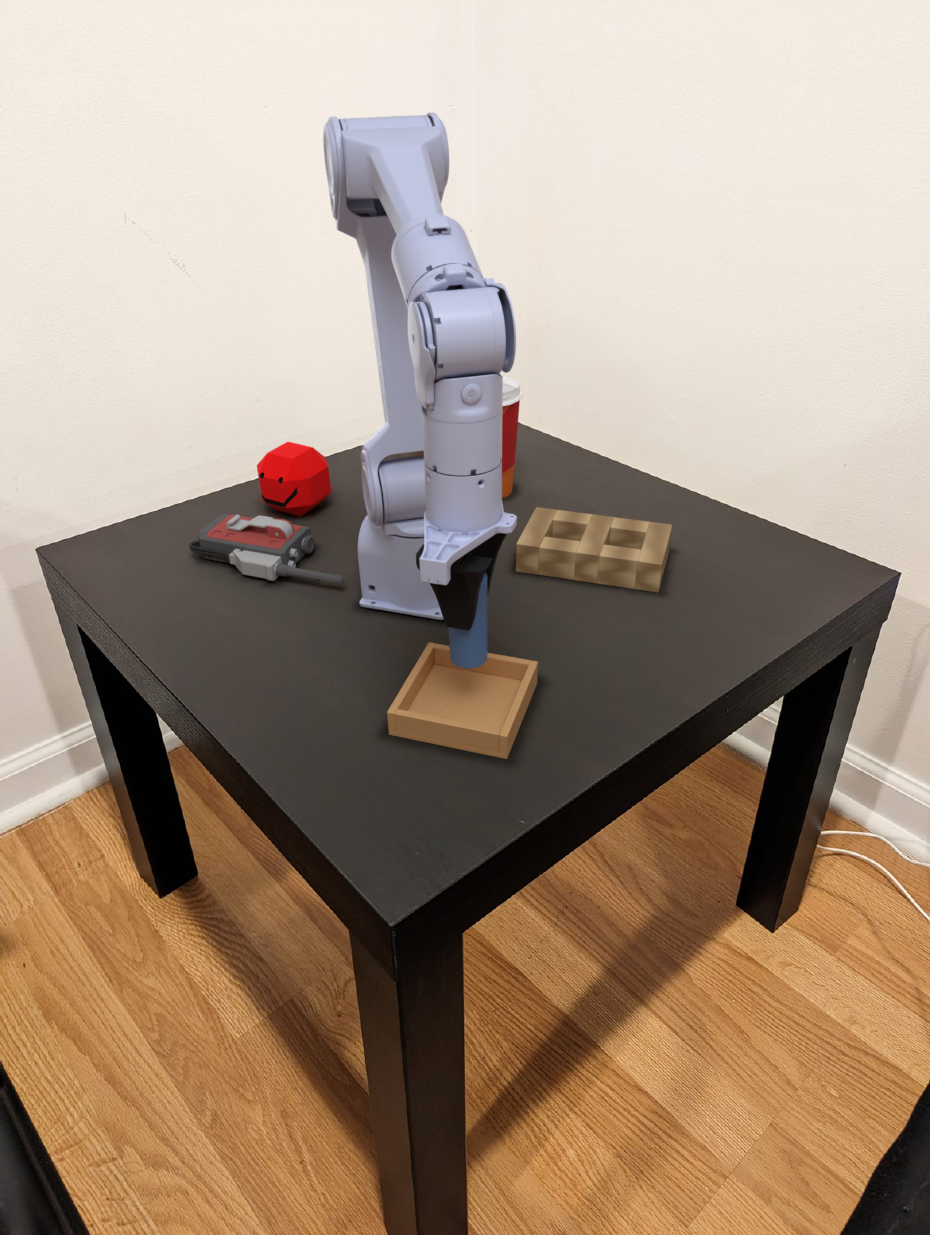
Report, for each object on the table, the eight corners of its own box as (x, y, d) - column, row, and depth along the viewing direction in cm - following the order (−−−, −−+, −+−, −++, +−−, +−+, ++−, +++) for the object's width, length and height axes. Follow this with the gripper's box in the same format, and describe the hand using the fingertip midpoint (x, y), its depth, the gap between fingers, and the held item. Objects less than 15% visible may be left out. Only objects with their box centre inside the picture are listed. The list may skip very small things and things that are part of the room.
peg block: (515, 571, 95) (516, 543, 93) (535, 533, 102) (536, 506, 100) (658, 593, 91) (662, 564, 89) (668, 551, 98) (672, 524, 96)
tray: (388, 734, 74) (386, 712, 72) (429, 663, 82) (428, 641, 80) (506, 759, 71) (507, 736, 70) (537, 683, 79) (538, 661, 78)
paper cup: (453, 482, 114) (450, 377, 106) (508, 474, 116) (510, 370, 108) (471, 508, 108) (470, 399, 100) (529, 499, 110) (532, 391, 102)
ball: (252, 513, 108) (242, 455, 104) (293, 487, 114) (285, 432, 109) (303, 527, 104) (295, 468, 100) (342, 500, 110) (336, 444, 106)
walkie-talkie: (179, 567, 97) (340, 597, 92) (171, 532, 95) (336, 561, 89) (222, 531, 104) (374, 557, 98) (215, 497, 102) (371, 522, 96)
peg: (444, 665, 73) (441, 583, 68) (456, 643, 75) (454, 564, 71) (481, 671, 72) (480, 590, 68) (492, 649, 75) (492, 569, 70)
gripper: (487, 510, 57) (487, 674, 64) (539, 429, 68) (534, 576, 76) (387, 497, 59) (399, 658, 66) (454, 420, 70) (458, 565, 78)
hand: (466, 614), depth 71 cm, fingers closed on peg, 3 cm apart
